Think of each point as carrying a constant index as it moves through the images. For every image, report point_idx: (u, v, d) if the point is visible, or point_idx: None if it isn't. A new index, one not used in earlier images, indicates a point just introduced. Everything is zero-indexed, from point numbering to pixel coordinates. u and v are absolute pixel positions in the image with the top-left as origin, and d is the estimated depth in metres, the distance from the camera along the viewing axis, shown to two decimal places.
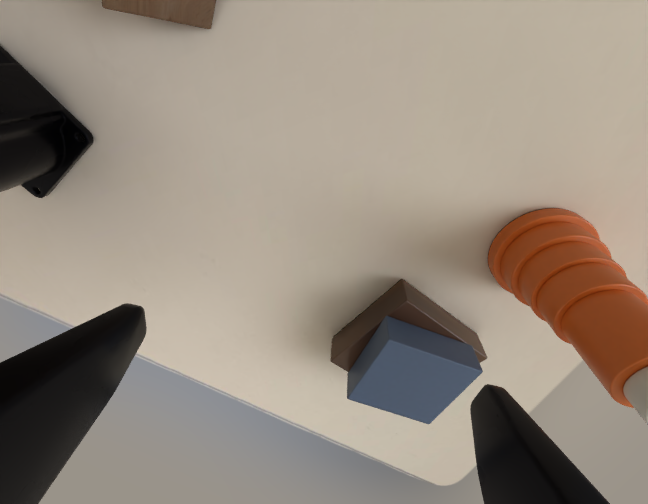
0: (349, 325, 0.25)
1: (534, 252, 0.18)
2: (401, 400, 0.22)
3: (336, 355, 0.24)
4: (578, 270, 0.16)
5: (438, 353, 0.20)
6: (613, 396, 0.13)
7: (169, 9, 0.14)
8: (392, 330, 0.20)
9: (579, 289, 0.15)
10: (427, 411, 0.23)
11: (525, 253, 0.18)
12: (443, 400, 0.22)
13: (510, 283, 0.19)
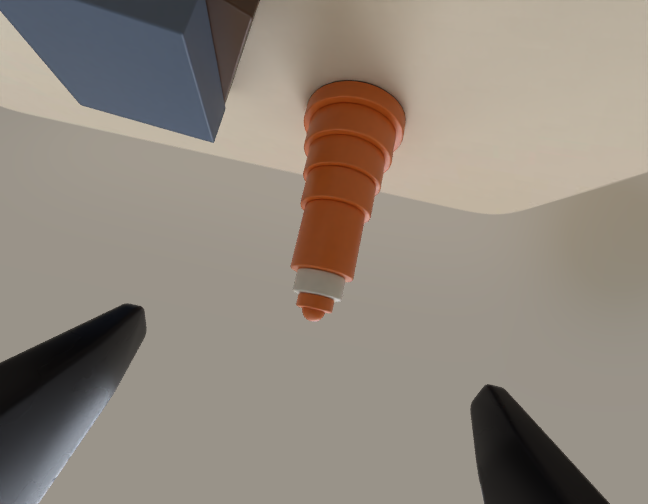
0: None
1: (369, 140, 0.17)
2: (80, 66, 0.13)
3: None
4: (369, 186, 0.17)
5: (204, 99, 0.14)
6: (297, 265, 0.16)
7: None
8: (193, 22, 0.11)
9: (359, 201, 0.16)
10: (100, 101, 0.15)
11: (366, 133, 0.16)
12: (137, 115, 0.16)
13: (327, 127, 0.17)
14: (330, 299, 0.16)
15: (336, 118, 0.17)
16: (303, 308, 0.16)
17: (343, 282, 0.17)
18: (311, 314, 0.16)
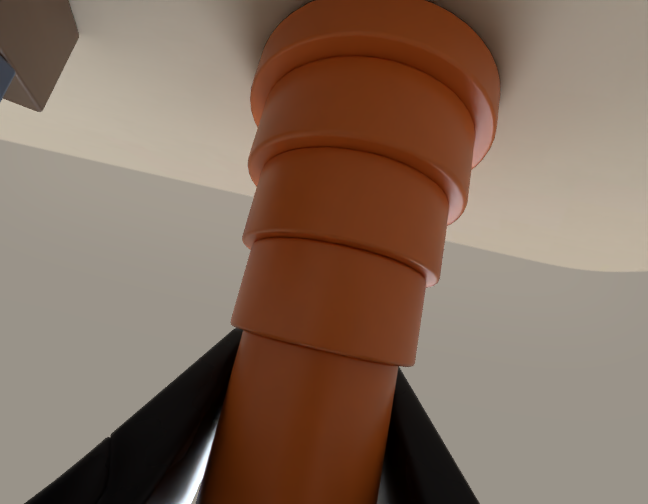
0: None
1: (420, 166, 0.06)
2: None
3: None
4: (416, 295, 0.06)
5: None
6: None
7: None
8: None
9: (390, 351, 0.05)
10: None
11: (413, 145, 0.06)
12: None
13: (296, 127, 0.06)
14: None
15: (323, 101, 0.06)
16: None
17: None
18: None
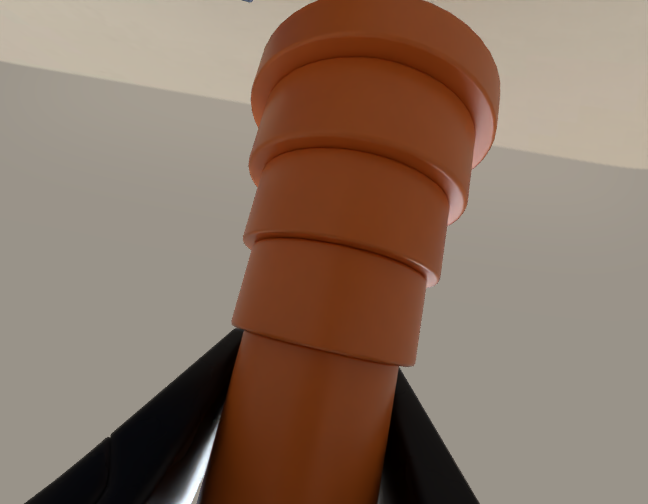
0: None
1: (421, 166, 0.06)
2: None
3: None
4: (416, 295, 0.06)
5: None
6: None
7: None
8: None
9: (391, 351, 0.05)
10: None
11: (413, 145, 0.06)
12: None
13: (296, 127, 0.06)
14: None
15: (324, 101, 0.06)
16: None
17: None
18: None
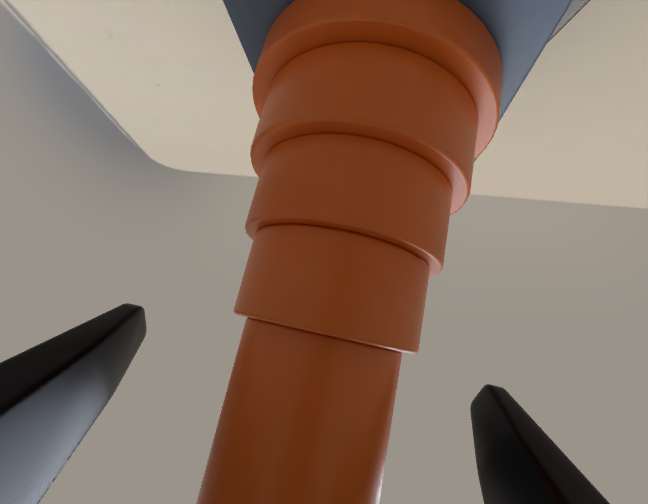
0: None
1: (424, 151, 0.06)
2: None
3: None
4: (419, 281, 0.06)
5: (506, 105, 0.08)
6: None
7: None
8: None
9: (394, 336, 0.05)
10: None
11: (416, 130, 0.05)
12: None
13: (299, 113, 0.06)
14: None
15: (327, 86, 0.06)
16: None
17: None
18: None
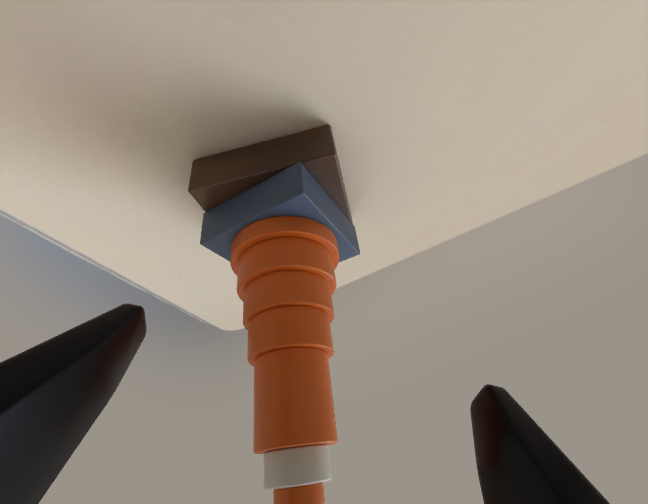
0: (229, 153, 0.18)
1: (287, 268, 0.15)
2: None
3: (201, 185, 0.17)
4: (309, 315, 0.14)
5: (336, 225, 0.17)
6: (255, 452, 0.12)
7: None
8: (305, 182, 0.15)
9: (299, 339, 0.13)
10: None
11: (279, 263, 0.15)
12: None
13: (243, 277, 0.15)
14: (310, 486, 0.12)
15: (248, 264, 0.16)
16: None
17: (321, 451, 0.12)
18: None
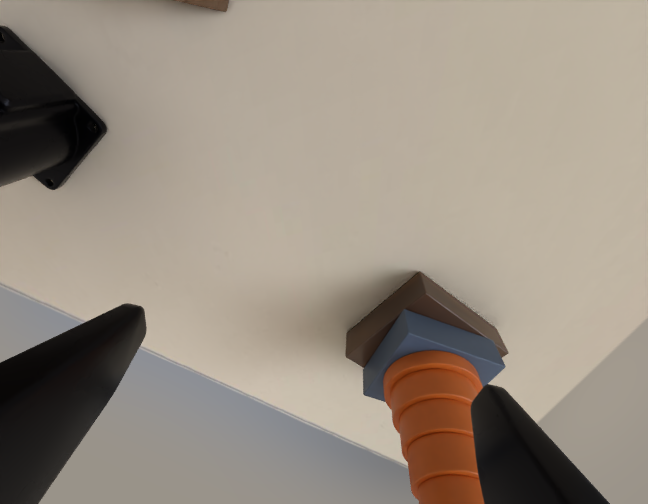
0: (364, 320, 0.24)
1: (419, 399, 0.18)
2: None
3: (351, 350, 0.23)
4: (447, 441, 0.16)
5: (458, 347, 0.19)
6: None
7: None
8: (411, 324, 0.20)
9: (441, 466, 0.15)
10: None
11: (411, 397, 0.18)
12: None
13: (392, 416, 0.19)
14: None
15: (393, 403, 0.19)
16: None
17: None
18: None
